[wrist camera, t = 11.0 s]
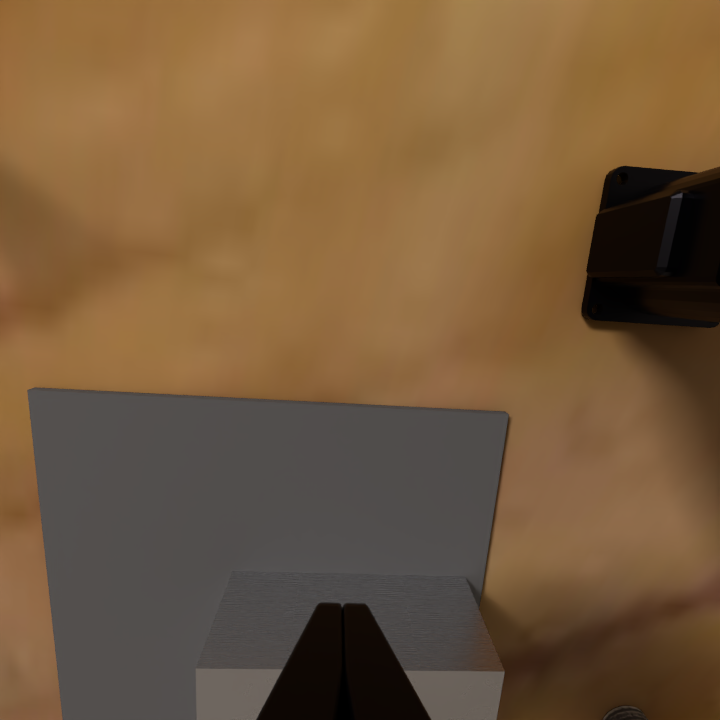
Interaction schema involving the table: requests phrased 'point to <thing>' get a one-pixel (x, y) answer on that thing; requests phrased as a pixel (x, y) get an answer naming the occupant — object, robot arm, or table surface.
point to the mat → (234, 519)
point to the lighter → (625, 714)
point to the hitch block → (394, 616)
